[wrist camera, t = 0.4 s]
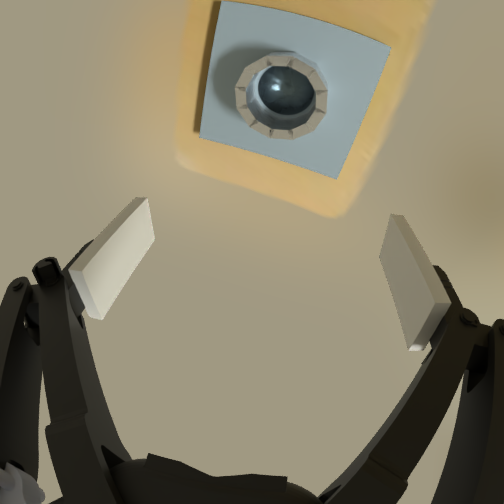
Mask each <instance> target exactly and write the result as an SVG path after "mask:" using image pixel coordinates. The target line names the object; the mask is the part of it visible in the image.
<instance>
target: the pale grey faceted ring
mask: <svg viewBox="0 0 504 504" xmlns="http://www.w3.org/2000/svg"><path fill="white" fill-rule="evenodd" d="M269 66H273V67H271V68H269V69H268V70H266V71H265V72H264V73H263V75H262V76H261V78H260V80H259V84H258V92H259V96H260V98H261V100H262V102H263V103H264V105H265V106H266V107H267V108H269V109H270V110H272V111H273V112H275V113H278V114H282V115H294V114H298V113H300V112H302V111H304V110H305V109H306V108H307V107H308V106H309V105H310V104H311V102H312V100H313V96H314V90H315V91H316V102H315V104H314V105H313V106H312V108H311V109H310V111H309V112H308V113H305V114H303V115H301V116H298V117H296V118H281V117H277V116H275V115H273V114H271V113H270V112H268V111H266V110H264V108H263V107H262V105H261V104H260V102H259V101H258V99H257V98H256V96H255V80H256V78H257V77H258V75H259V73H260V71H261V70H263V69H265V68H267V67H269ZM327 92H328V82H327V80H326V79H325V77H324V75H323V73H322V72H321V70H320V68H319V67H318V65H317V64H316V63H315V62H313V61H311V60H309V59H308V58H306V57H304V56H303V55H301V54H299V53H297V52H272V53H270V54H268V55H266V56H264V57H263V58H261V59H259V60H257V61H255V62H253V63H252V64H250V65H248V66H247V67H245V69H244V71H243V73H242V74H241V76H240V78H239V80H238V82H237V84H236V86H235V95H236V106H237V110H238V111H239V113H240V114H241V116H242V117H243V118H244V120H245V121H246V123H247V124H248V126H249V127H250V128H252V129H254V130H256V131H257V132H259V133H261V134H263V135H265V136H266V137H268V138H272V139H287V140H294V139H296V138H298V137H301V136H303V135H306V134H308V133H310V132H313V131H314V130H315V128H316V127H317V126H318V124H319V123H320V122H321V120H322V119H323V118H324V116H325V115H326V114H327Z"/></svg>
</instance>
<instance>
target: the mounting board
mask: <svg viewBox="0 0 504 504" xmlns="http://www.w3.org/2000/svg"><path fill="white" fill-rule="evenodd" d="M390 50H391V47H389V46H387V45H385V44H383V43H380V42H378V41H376V40H373V39H371V38H368V37H366V36H363V35H361V34H358V33H356V32H353V31H350V30H347V29H345V28H342V27H339V26H336V25H333V24H330V23H327V22H323V21H320V20H317V19H313V18H310V17H306V16H302V15H298V14H294V13H290V12H286V11H282V10H277V9H272V8H267V7H262V6H256V5H250V4H244V3H237V2H229V1H221V6H220V11H219V16H218V21H217V26H216V31H215V37H214V42H213V48H212V53H211V59H210V65H209V71H208V78H207V84H206V91H205V98H204V105H203V112H202V120H201V128H200V136H199V138H203V139H207V140H211V141H215V142H219V143H222V144H226V145H230V146H234V147H237V148H241V149H244V150H248V151H251V152H255V153H258V154H262V155H265V156H268V157H271V158H275V159H278V160H281V161H284V162H287V163H290V164H293V165H296V166H299V167H302V168H305V169H308V170H311V171H314V172H317V173H320V174H323V175H325V176H328V177H331V178H334V179H336V180H337V178H338V176H339V173H340V171H341V169H342V167H343V164H344V162H345V160H346V158H347V155H348V153H349V151H350V149H351V146H352V144H353V142H354V139H355V137H356V135H357V132H358V130H359V128H360V125H361V123H362V120H363V118H364V116H365V113H366V111H367V108H368V106H369V104H370V101H371V99H372V96H373V94H374V91H375V89H376V86H377V84H378V81H379V79H380V76H381V73H382V71H383V68H384V66H385V63H386V60H387V58H388V55H389V52H390ZM272 52H297V53H299V54H301V55H303V56H304V57H306V58H308V59H309V60H311V61H313V62H315V63H316V64H317V65H318V67H319V68H320V70H321V72H322V73H323V75H324V77H325V79H326V80H327V82H328V92H327V114H326V115H325V116H324V118H323V119H322V120H321V122H320V123H319V124H318V126H317V127H316V128H315V130H314V131H313V132H310V133H308V134H306V135H303V136H301V137H298V138H296V139H294V140H287V139H272V138H268V137H266V136H265V135H263V134H261V133H259V132H257V131H256V130H254V129H252V128H250V127H249V126H248V124H247V123H246V121H245V120H244V118H243V117H242V116H241V114H240V113H239V111H238V110H237V106H236V95H235V86H236V84H237V82H238V80H239V78H240V76H241V74H242V73H243V71H244V69H245V67H247V66H248V65H250V64H252V63H253V62H255V61H257V60H259V59H261V58H263V57H264V56H266V55H268V54H270V53H272ZM271 67H273V66H269V67H267V68H265V69H263V70H261V71H260V73H259V75H258V77H257V78H256V80H255V96H256V98H257V99H258V101H259V102H260V104H261V105H262V107H263V108H264V110H266V111H268V112H270V113H271V114H273V115H275V116H277V117H281V118H296V117H298V116H301V115H303V114H305V113H308V112H309V111H310V109H311V108H312V106H313V105H314V104H315V102H316V91H315V90H314V96H313V100H312V102H311V104H310V105H309V106H308V107H307V108H306V109H305V110H304V111H302V112H300V113H298V114H294V115H282V114H278V113H275V112H273V111H272V110H270V109H269V108H267V107H266V106H265V105H264V103H263V102H262V100H261V98H260V96H259V92H258V84H259V80H260V78H261V76H262V75H263V73H264V72H265V71H266V70H268V69H269V68H271Z"/></svg>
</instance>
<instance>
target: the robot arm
mask: <svg viewBox="0 0 504 504" xmlns="http://www.w3.org/2000/svg"><path fill="white" fill-rule="evenodd" d="M154 240H155V237H154V232H153V227H152V221H151V215H150V210H149V204H148V198H138V197H136V198H135V199H134V200H133V201H132V202H131V203H130V204H129V205H128V206H127V207H126V208H124V209H123V210H122V211H121V212H120V213H119V214H118V215H117V217H116V218H115V219H114V220H113V221H112V222H111V223H110V224H109V225H108V226H107V227H106V228H105V229H104V230H103V231H102V232H101V233H100V234H99V235H98V236H97V237H96V238H95V240H92V241H90V242H89V243H87V244H85V245H84V247H82V248H81V250H80V251H79V253H77V254H76V255H75V257H74V258H73V259H72V260H71V261H70V262H69V263H68V264H67V265H66V267H65V268H64V269H63V270H62V271H61V268H60V266H59V264H58V261H57V259H56V258H54V257H48V258H44V259H43V260H40V261H39V262H38V263H36V265H35V266H34V267H33V269H32V272H33V274H34V276H35V278H36V280H37V283H38V284H37V285H31V284H30V282H29V280H28V278H27V277H19V278H16V279H15V280H13V281H12V282H11V283H10V284H9V286H8V288H7V290H6V293H5V295H4V298H3V300H2V303H1V306H0V504H41V502H43V501H44V500H45V494H44V492H43V490H42V489H41V488H39V486H38V484H37V478H38V462H39V461H38V460H39V451H38V425H39V403H40V390H41V380H42V371H43V377H44V385H45V392H46V397H47V404H48V409H49V414H50V419H51V423H50V425H48V426H46V428H45V434H46V440H47V444H48V448H49V452H50V456H51V459H52V463H53V466H54V470H55V473H56V477H57V480H58V483H59V486H60V489H61V492H62V494H63V497H61V498H59V499H57V500H55V501H53V502H51V503H49V504H396V503H397V502H398V500H399V499H400V498H401V496H402V495H403V494H404V492H405V490H406V489H407V486H408V482H407V479H408V477H409V476H410V474H411V472H412V471H413V469H414V468H415V466H416V465H417V463H418V462H419V460H420V459H421V457H422V455H423V454H424V452H425V450H426V448H427V447H428V445H429V444H430V442H431V440H432V438H433V436H434V434H435V433H436V431H437V429H438V427H439V426H440V424H441V422H442V420H443V418H444V416H445V414H446V412H447V410H448V408H449V406H450V403H451V401H452V399H453V397H454V395H455V393H456V390H457V388H458V385H459V383H460V381H461V379H462V376H463V374H464V376H463V384H462V391H461V397H460V403H459V408H458V414H457V419H456V423H455V428H454V432H453V437H452V440H451V444H450V448H449V452H448V455H447V459H446V462H445V466H444V469H443V472H442V475H441V478H440V481H439V484H438V487H437V489H436V492H435V495H434V497H433V500H432V503H431V504H504V320H503V319H497V320H496V321H495V322H494V324H493V325H492V327H491V326H488V325H484V324H481V323H480V322H479V319H478V317H477V316H476V314H475V313H473V312H472V311H471V310H469V309H466V308H463V306H462V304H461V302H460V300H459V298H458V296H457V294H456V292H455V290H454V288H453V286H452V285H451V282H449V279H448V277H447V275H446V274H445V272H444V271H443V270H442V269H441V268H440V267H439V266H434V265H432V264H431V262H430V260H429V258H428V256H427V255H426V253H425V251H424V250H423V247H422V246H421V244H420V242H419V241H418V239H417V237H416V236H415V234H414V232H413V231H412V229H411V227H410V226H409V224H408V222H407V221H406V219H405V218H404V216H402V215H395V214H391V215H390V218H389V222H388V226H387V230H386V234H385V238H384V242H383V245H382V249H381V252H380V256H379V258H380V261H381V264H382V266H383V269H384V272H385V275H386V278H387V281H388V284H389V287H390V290H391V293H392V296H393V299H394V302H395V305H396V308H397V312H398V315H399V318H400V322H401V326H402V329H403V333H404V336H405V340H406V343H407V348H408V351H415V350H424V348H425V347H426V345H427V344H428V342H429V341H430V344H431V347H432V349H431V351H430V352H429V353H428V355H427V356H426V358H425V359H424V361H423V362H422V366H421V368H420V369H419V371H418V373H417V374H416V376H415V378H414V379H413V381H412V382H411V384H410V386H409V387H408V389H407V390H406V392H405V394H404V395H403V397H402V398H401V400H400V401H399V403H398V404H397V405H396V407H395V409H394V410H393V411H392V413H391V414H390V415H389V417H388V418H387V420H386V421H385V423H384V424H383V425H382V427H381V428H380V429H379V430H378V432H377V433H376V434H375V436H374V437H373V438H372V440H371V441H370V442H369V443H368V444H367V446H366V447H365V448H364V449H363V451H362V452H361V453H360V454H359V456H357V458H356V459H355V460H354V461H353V462H352V463H351V465H350V466H349V467H348V468H347V469H346V470H345V471H344V472H343V473H342V474H341V475H340V476H339V477H338V478H337V479H336V480H335V481H334V482H333V483H332V484H331V485H330V486H329V487H328V488H326V489H325V490H324V491H323V492H322V494H320V495H319V496H318V497H316V496H315V495H314V494H312V493H311V492H309V491H308V490H306V489H304V488H302V487H300V486H298V485H296V484H293V483H289V482H287V477H286V476H284V477H283V476H269V475H258V474H246V475H236V476H221V477H213V476H210V475H208V474H206V473H203V472H201V471H199V470H197V469H195V468H192V467H190V466H188V465H186V464H184V463H182V462H180V461H176V460H172V459H168V458H164V457H161V456H157V455H153V454H150V453H148V456H147V459H136V460H132V459H131V457H130V455H129V453H128V452H127V450H126V449H125V448H124V446H123V444H122V443H121V440H120V438H119V436H118V433H117V431H116V428H115V425H114V423H113V420H112V417H111V415H110V412H109V409H108V406H107V403H106V400H105V397H104V395H103V391H102V388H101V385H100V381H99V378H98V375H97V371H96V368H95V364H94V360H93V356H92V352H91V349H90V344H89V340H88V336H87V331H86V327H85V322H84V318H83V316H82V314H81V313H82V311H83V310H84V309H86V311H87V313H88V315H89V317H92V318H96V319H100V320H103V318H104V316H105V315H106V313H107V312H108V310H109V308H110V307H111V305H112V304H113V302H114V300H115V299H116V297H117V296H118V294H119V292H120V291H121V289H122V288H123V286H124V285H125V283H126V281H127V280H128V279H129V277H130V275H131V274H132V272H133V271H134V269H135V268H136V266H137V265H138V263H139V262H140V260H141V259H142V258H143V256H144V255H145V253H146V252H147V250H148V248H149V247H150V246H151V244H152V243H153V241H154ZM24 322H25V326H24Z"/></svg>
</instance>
